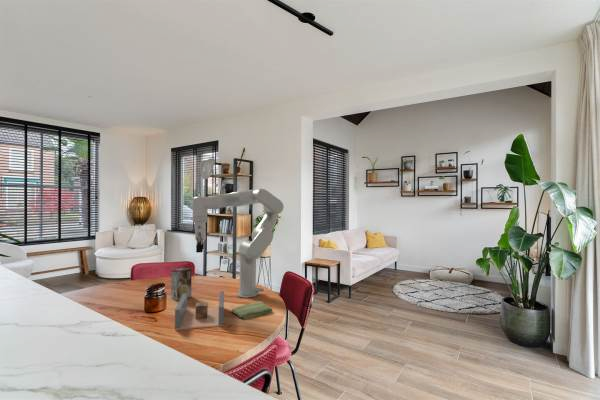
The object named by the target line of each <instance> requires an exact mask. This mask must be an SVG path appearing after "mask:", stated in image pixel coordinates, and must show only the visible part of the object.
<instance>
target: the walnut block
mask: <svg viewBox="0 0 600 400" xmlns="http://www.w3.org/2000/svg"><path fill="white" fill-rule="evenodd" d="M208 308H209V303H208V301H202V302H201V301H200V302H196V304H195V309H196V315H195V319H206V318H207V315H208Z"/></svg>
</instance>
